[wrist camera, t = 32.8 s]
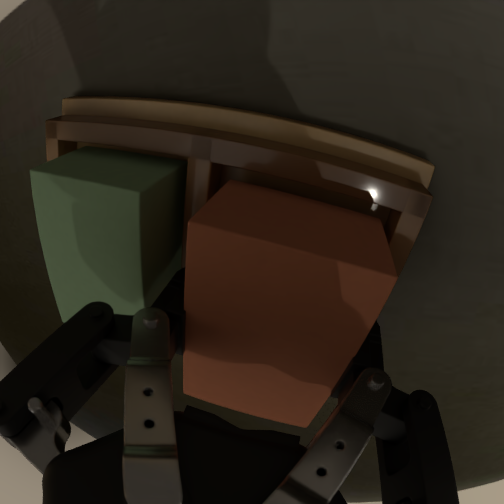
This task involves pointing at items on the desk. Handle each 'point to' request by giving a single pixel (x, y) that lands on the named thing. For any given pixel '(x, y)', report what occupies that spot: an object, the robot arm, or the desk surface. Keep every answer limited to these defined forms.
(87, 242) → the pad sage
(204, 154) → the divided wooden tray
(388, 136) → the desk surface
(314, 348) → the pad terracotta
